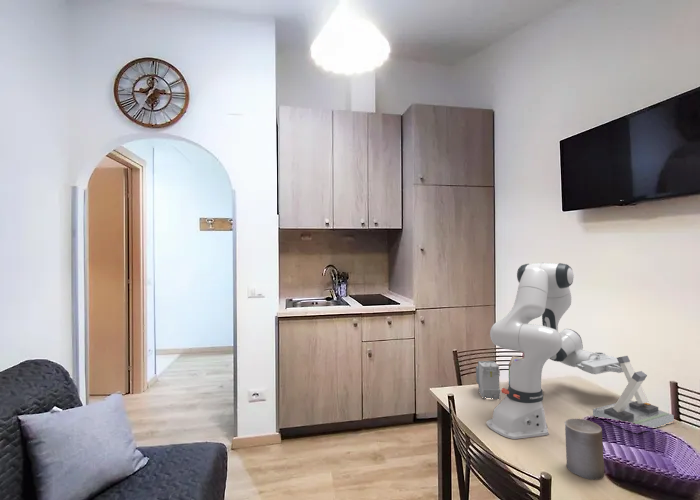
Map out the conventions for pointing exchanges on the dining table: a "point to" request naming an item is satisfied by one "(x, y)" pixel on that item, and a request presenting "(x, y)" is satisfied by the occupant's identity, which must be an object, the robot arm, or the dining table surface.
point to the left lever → (630, 391)
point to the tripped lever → (629, 373)
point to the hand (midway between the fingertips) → (622, 370)
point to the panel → (636, 414)
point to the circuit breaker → (488, 379)
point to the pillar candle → (584, 448)
